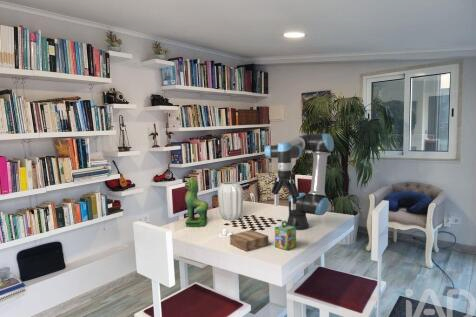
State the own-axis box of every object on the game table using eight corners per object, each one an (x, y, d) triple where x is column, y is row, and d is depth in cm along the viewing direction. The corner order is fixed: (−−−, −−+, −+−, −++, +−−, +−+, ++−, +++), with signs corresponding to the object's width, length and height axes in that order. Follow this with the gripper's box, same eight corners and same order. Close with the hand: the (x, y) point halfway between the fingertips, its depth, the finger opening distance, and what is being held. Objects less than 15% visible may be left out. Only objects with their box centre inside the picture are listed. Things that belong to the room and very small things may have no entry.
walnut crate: (251, 239, 207) (251, 229, 207) (269, 246, 194) (268, 236, 193) (229, 244, 198) (229, 234, 197) (246, 252, 184) (246, 241, 184)
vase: (234, 222, 244) (234, 185, 242) (213, 219, 254) (212, 184, 252) (248, 216, 260) (247, 182, 258) (227, 214, 270) (226, 180, 268)
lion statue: (187, 222, 248) (186, 175, 246) (209, 222, 247) (208, 175, 244) (183, 227, 235) (181, 178, 232) (206, 227, 234) (205, 177, 231)
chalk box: (287, 250, 184) (287, 224, 183) (274, 247, 191) (273, 221, 189) (297, 246, 191) (296, 221, 190) (283, 243, 197) (283, 218, 196)
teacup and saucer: (234, 235, 215) (234, 229, 215) (225, 238, 209) (225, 232, 209) (224, 233, 221) (224, 227, 221) (216, 236, 215) (215, 229, 215)
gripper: (265, 168, 195) (265, 204, 197) (295, 172, 175) (296, 212, 177) (274, 168, 200) (275, 203, 201) (305, 171, 179) (306, 210, 181)
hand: (285, 207), depth 189 cm, fingers open, 13 cm apart
